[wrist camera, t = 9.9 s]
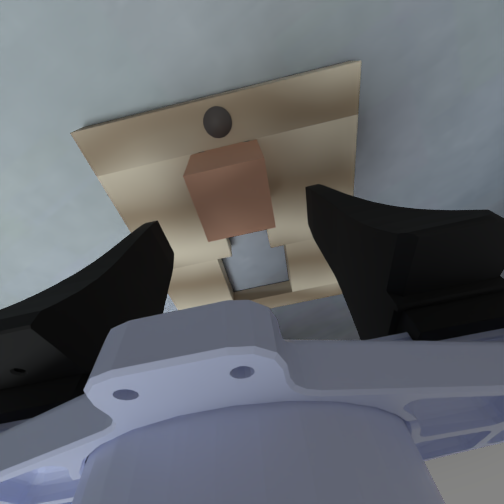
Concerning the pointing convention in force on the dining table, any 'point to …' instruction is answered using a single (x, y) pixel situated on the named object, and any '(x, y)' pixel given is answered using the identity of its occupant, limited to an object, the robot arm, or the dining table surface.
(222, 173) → the slider block
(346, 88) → the keyhole board
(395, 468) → the robot arm
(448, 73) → the dining table surface
